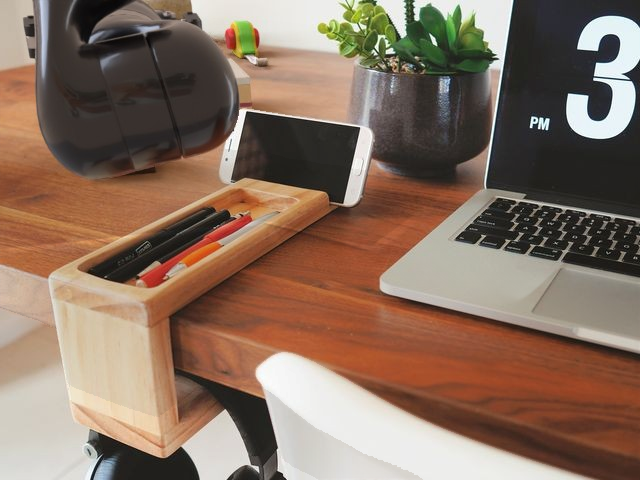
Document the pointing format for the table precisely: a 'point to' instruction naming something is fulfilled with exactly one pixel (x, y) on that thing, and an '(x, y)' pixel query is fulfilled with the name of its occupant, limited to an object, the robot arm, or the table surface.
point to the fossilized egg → (171, 6)
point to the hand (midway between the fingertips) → (112, 22)
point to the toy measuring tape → (244, 42)
